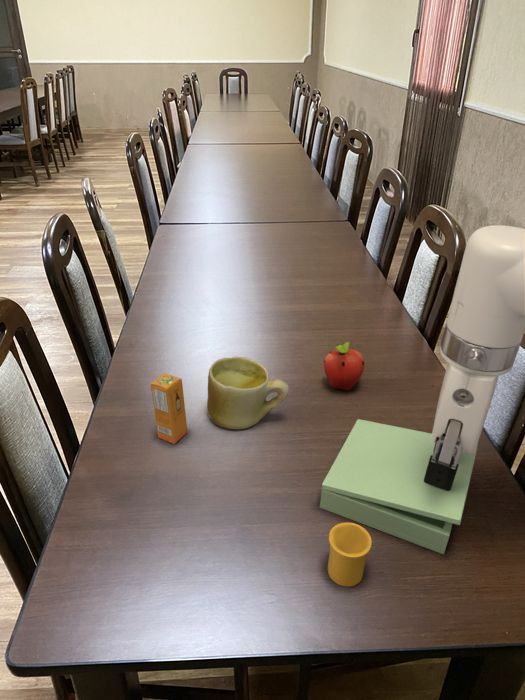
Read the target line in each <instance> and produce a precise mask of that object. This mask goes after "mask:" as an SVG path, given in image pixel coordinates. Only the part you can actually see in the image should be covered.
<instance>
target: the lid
mask: <svg viewBox="0 0 525 700" xmlns="http://www.w3.org/2000/svg"><path fill="white" fill-rule="evenodd" d="M431 437H432V432H425V431H420V430H416V429H410V428H407V427H400V426H395V425H391V424H387V423H386V424H385V423H379V422H374V421H370V420H365V419H360V418H357V420H356V421H355V423H354V425H353V427H352V428H351V431H350V432H349V434H348V436H347V438H346V440H345V442H344V443H343V445H342V447H341V449H340V451H338V454H337V456H336V457H335V460H334V462H333V463H332V465H331V467H330V468H329V470H328V472H327V474H326V476H325V478H324V479H323V482H322V484H321V490H322V489H324V490H328V491H332V492H336V493H339V494H343V495H347V496H351V497H355V498H358V499H362V500H366V501H370V502H373V503H377V504H381V505H385V506H389V507H392V508H396V509H400V510H404V511H408V512H411V513H415V514H419V515H423V516H427V517H430V518H434V519H438V520H442V521H446V522H449V523H453V524H454V525H458V526H460V525H461V522H462V519H463V514H464V510H465V509H464V508H465V505H466V500H467V496H468V492H469V487H470V484H471V483H470V482H471V477H472V474H473V470H474V465H475V461H476V456H477V452H478V451H477V450H478V447H479V444H478V445H477V448H476V451H475V453H473V454H469V453H465V452H463V450H462V449H461V450H462V451H461V452H460V456H459V459H458V462H457V464H459V466H458V469H457V472H456V475H455V478H454V482H453V485H452V488H451V490H450V491H446V490H443V489H440V488H438V487H435V486H432V485H429V484H426V483H425V482H424V477H425V474H426V470H427V466H428V463H429V459H430V456H431V455H432V456H433V453H434V452H433V450H434V447H435V443H436V442H435V443H434V441H433V440H432V438H431ZM457 441H460V439H459V438H457ZM455 451H456V449H454V452H453V455H452V456H454V455H455ZM453 524H452V525H453Z"/></svg>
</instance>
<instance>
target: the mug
mask: <svg viewBox="0 0 525 700" xmlns="http://www.w3.org/2000/svg"><path fill="white" fill-rule="evenodd" d="M289 392H290V387H289V384H287V383H286V382H285V381H284V380H281V379H272V380H271V379H270V374H269V371H268V369H266V367H265V366H264V365H263V364H262V363H260V362H258V361H256V360H255V359H252V358H248V357H245V356H232V357H223V358H218V359H217V360H216V361H214V362H213V363H212V364H211V366H210V367H209V369H208V374H207V400H206V401H207V405H206V410H207V415H208V416H209V418H210V419H211V421H213V422H214V424H215V425H217V426H218V427H220V428H224V429H231V430H245V429H248V428H251V427H253V426H255V425H256V424H258V423H259V422H260V421H261V420H262V419H263V418H265V416H266V415H267V413H268V412H270V410H272V409H274V408H275V407H277V406H278V405H280V404H281V403H283V401H285V400H286V398H287V396H289ZM274 393H276V394H277V395H276V396H274V397H272V398H271V399H269V400H267V397H268V396H269V395H270V394H274Z"/></svg>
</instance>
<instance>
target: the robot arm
mask: <svg viewBox="0 0 525 700" xmlns="http://www.w3.org/2000/svg"><path fill="white" fill-rule="evenodd" d="M461 260H462V261H461V264H460V267H459V273H458V276H457V280H456V284H455V287H454V291H453V295H452V300H451V303H450V307H449V311H448V315H447V319H446V322H445V327H444V329H443V330H444V331H443V335H442V338H441V342H440V346H439V354H440V356H441V357H442V359H443V360H444V361H445V362H447V365H446V369H445V372H444V377H443V380H442V384H441V388H440V392H439V396H438V400H437V406H436V411H435V416H434V421H433V425H432V432H431V434H432V437H431V438H432V440H433V441H434V443H435V442H436V443H435V447H434V450H433V452H434V453H433V456H432V455H431V456H430V459H429V463H428V466H427V470H426V474H425V477H424V482H425V483H426V484H429V485H432V486H435V487H438V488H440V489H443V490H446V491H450V490H451V488H452V485H453V482H454V478H455V475H456V472H457V469H458V466H459V464H457V462H458V459H459V456H460V452H461V451H462V450H463V452H465V453H469V454H473V453H475V451H476V448H477V449H478V447H477V445H478V446H479V442H480V438H481V435H482V433H483V428H484V426H485V423H486V419H487V417H488V413H489V410H490V407H491V404H492V401H493V398H494V395H495V392H496V389H497V384H498V381H499V377H500V376H503V375H505V374H508V373H509V372H510V371H512V369H513V367H514V364H515V361H516V358H517V355H518V352H519V349H520V347H521V344H522V340H523V337H524V335H525V228H522V227H516V226H513V225H512V226H511V225H500V224H497V225H495V224H494V225H485V226H482V227H480V228H477V229H476V230H475V231H474V232H473V233H471V235H470V236H469V238H468V240H467V243H466V245H465V249H464V253H463V256H462V259H461ZM457 438H459V439H460V441H457ZM454 449H456V451H455V455H454V456H452V455H453V452H454ZM461 449H462V450H461Z"/></svg>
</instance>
